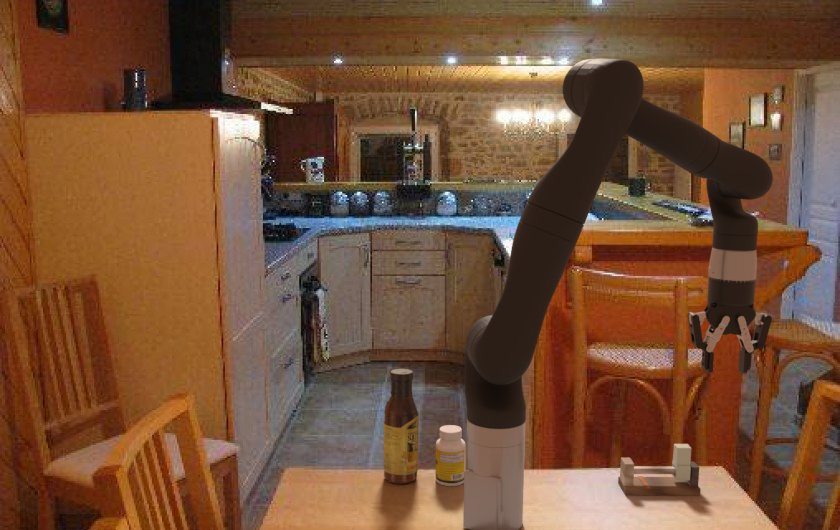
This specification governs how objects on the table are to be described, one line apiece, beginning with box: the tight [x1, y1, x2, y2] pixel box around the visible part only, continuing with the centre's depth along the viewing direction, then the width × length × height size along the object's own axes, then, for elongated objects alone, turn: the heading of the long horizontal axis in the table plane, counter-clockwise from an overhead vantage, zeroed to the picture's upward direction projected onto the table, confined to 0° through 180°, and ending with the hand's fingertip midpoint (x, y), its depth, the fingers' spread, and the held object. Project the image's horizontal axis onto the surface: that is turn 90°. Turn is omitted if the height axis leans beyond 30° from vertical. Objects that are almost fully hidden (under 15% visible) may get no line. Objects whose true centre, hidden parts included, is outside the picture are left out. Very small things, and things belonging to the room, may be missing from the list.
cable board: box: [617, 457, 701, 496], centre depth 144 cm, size 13×5×5 cm, turn 90°
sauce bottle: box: [383, 368, 420, 485], centre depth 146 cm, size 6×6×20 cm
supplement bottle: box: [435, 424, 466, 487], centre depth 146 cm, size 5×5×10 cm
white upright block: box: [671, 443, 692, 481], centre depth 143 cm, size 2×3×6 cm
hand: (725, 371), depth 141 cm, fingers open, 5 cm apart
